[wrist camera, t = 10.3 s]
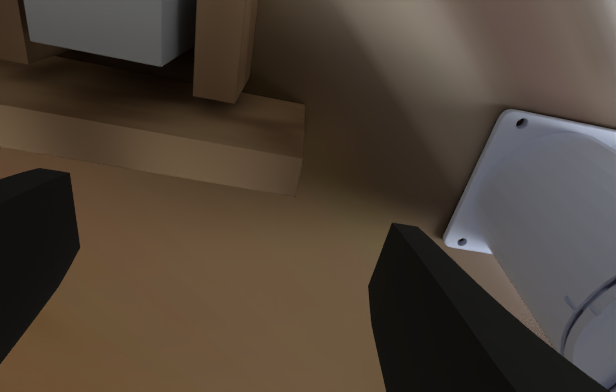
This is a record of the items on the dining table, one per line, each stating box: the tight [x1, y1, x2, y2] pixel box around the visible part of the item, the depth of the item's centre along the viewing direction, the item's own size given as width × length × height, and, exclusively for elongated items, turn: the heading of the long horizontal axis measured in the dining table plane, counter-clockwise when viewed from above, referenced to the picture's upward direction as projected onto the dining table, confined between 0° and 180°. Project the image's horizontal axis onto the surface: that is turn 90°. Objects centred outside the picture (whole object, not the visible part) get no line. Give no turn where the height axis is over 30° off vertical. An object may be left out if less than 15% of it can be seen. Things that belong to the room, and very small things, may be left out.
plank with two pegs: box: [0, 0, 305, 197], centre depth 14 cm, size 14×6×6 cm, turn 79°
